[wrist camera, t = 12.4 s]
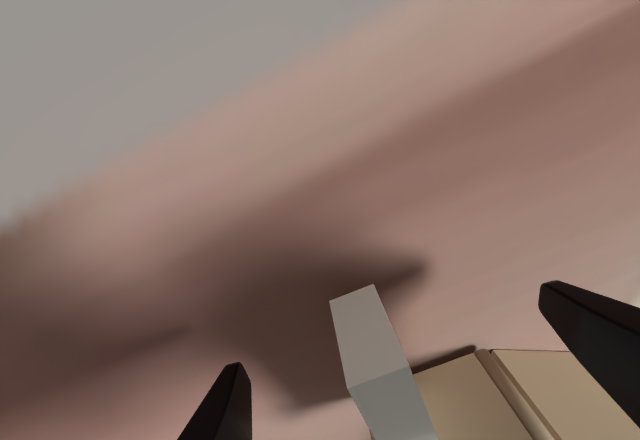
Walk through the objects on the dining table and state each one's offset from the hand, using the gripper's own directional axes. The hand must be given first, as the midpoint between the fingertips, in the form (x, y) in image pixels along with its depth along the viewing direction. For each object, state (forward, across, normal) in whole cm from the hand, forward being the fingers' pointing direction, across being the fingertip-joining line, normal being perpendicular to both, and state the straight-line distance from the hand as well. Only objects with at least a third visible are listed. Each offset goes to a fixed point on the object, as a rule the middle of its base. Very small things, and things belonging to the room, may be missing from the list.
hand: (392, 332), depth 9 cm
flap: (+2, -1, +3) cm, 4 cm away
